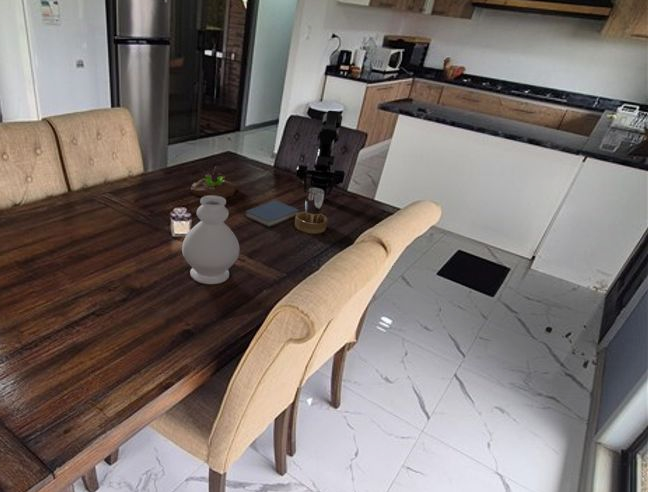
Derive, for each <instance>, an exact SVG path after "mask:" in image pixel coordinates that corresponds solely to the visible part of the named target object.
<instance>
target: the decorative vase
mask: <svg viewBox="0 0 648 492" xmlns="http://www.w3.org/2000/svg"><path fill="white" fill-rule="evenodd" d="M199 203H200V205H199V206H198V208H197V209H196V216H197V218H198V219H199V220H200V221H199V222H198V223H196V224H195V225H194V226H193V227H192V228H191V229H190V230H189V231H188V232H187V234H186V235H185V237H184V239H183V241H182V245H181V252H182V256H183V258H184V260H185V261H186V262H187V264H188V265H189V267H191V268H190V271H189V276H190V277H191V278H192V280H194V281H195V282H197V283H199V284H203V285H204V284H205V285H219V284H221V283H224V282H226V281H227V280H228V279H229V277H230V271H229V269H230V268H231V267H232V266H233V265H234V264H235V263H236V262H237V261H238V259H239V256H240V243H239V240H238V238H237V236H236V235H235V233H234V232H233V230H232V229H231V228H230V227H229V226H228V225H227V224H226V223H225V221H226V220H227V219H228V218H229V213H230V212H229V210H228V208H227V207H226V205H227V199H224V198H223V197H220V196H214V195H209V196H201V198H200V200H199Z"/></svg>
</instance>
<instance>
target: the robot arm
mask: <svg viewBox="0 0 648 492" xmlns="http://www.w3.org/2000/svg"><path fill="white" fill-rule="evenodd" d="M342 122H343V116H342V115H341V114H340V111H338V110H330V109H329V110H327V112H325V113H324V114H323V116H322V122H321V130H318V134H317V138H316V140H317V141H318V146H317V147H318V148H317V153H316V157H315V160H314V165H313V169H311V168H310V169H309V168H308V167H309V166H308V165H306V164H298V165H297V168H296V178H298V179H299V180H301V182H302V185H303V192H304V193H307V181H308V180H307V178H308V175H309V176H311V177H310V184H309V186H312V187H311V188H320V189H323V190H324V191H325V195H324V201H327V200H328V198H327V197H326V195H327V196H330V194H331V193H332V191H333V189H334V188H335V187H336V186H337V185H340V184H343V183H344V181H345V176H346V171H345V170H342V169H334V172H332V171H331V170H332V169H331V166H334V162H335V156H334V155H333V150H334V145H335V143H337V142H339V139H340V135H339V130H340V129H341V128H342ZM327 189H328V191H327Z"/></svg>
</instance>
